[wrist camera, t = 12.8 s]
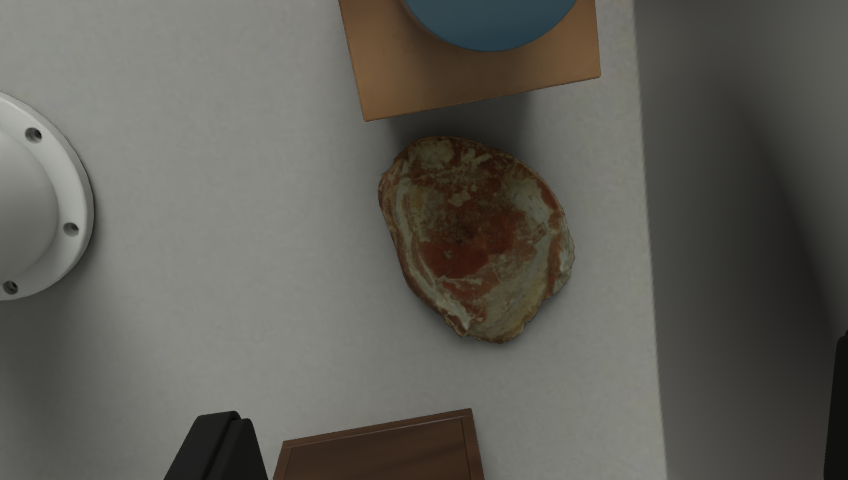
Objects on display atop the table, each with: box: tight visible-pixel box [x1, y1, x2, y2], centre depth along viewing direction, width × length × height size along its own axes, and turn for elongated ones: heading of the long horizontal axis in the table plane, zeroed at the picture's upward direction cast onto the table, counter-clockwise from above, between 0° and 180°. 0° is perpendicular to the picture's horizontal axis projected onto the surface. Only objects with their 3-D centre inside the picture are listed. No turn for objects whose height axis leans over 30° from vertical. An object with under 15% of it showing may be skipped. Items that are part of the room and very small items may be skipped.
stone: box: [378, 136, 575, 344], centre depth 35 cm, size 13×10×3 cm
